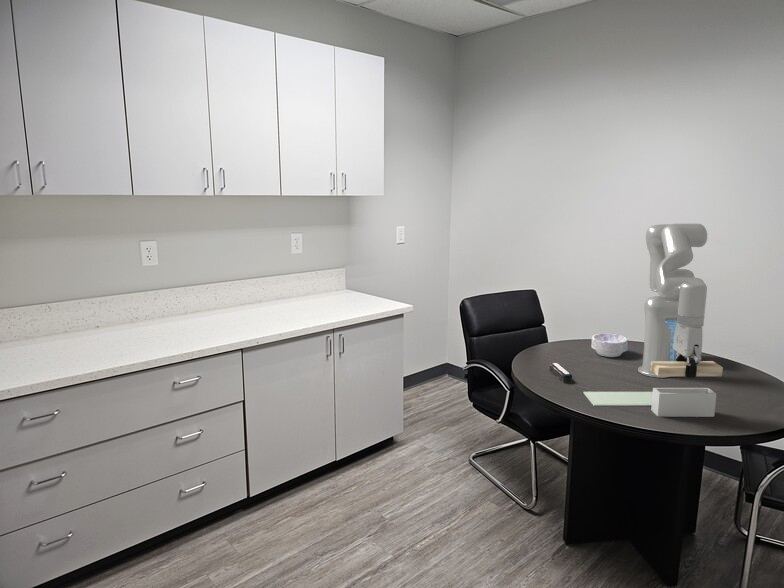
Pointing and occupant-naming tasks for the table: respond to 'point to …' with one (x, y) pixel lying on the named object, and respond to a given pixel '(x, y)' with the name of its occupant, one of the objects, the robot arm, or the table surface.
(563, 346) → the table surface
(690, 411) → the box
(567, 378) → the bus
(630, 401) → the mat
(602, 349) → the paper bowls
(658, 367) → the beige wooden block
